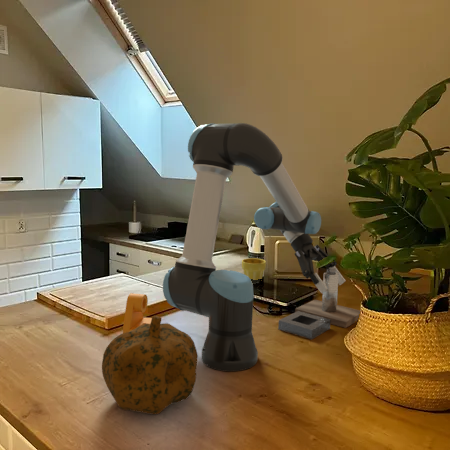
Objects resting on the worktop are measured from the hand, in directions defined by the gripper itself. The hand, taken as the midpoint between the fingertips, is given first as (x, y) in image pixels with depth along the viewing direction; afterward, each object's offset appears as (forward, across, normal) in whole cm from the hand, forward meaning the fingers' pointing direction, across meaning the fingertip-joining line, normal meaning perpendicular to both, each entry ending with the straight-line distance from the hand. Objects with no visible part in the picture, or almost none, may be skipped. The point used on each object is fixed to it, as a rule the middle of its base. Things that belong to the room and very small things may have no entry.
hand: (334, 287), depth 155 cm
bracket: (-18, +54, -34) cm, 67 cm away
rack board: (+7, 0, -8) cm, 11 cm away
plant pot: (-24, -14, -40) cm, 49 cm away
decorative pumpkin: (+4, +78, -11) cm, 79 cm away
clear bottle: (+5, 0, -7) cm, 9 cm away
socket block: (+7, +17, -8) cm, 20 cm away
